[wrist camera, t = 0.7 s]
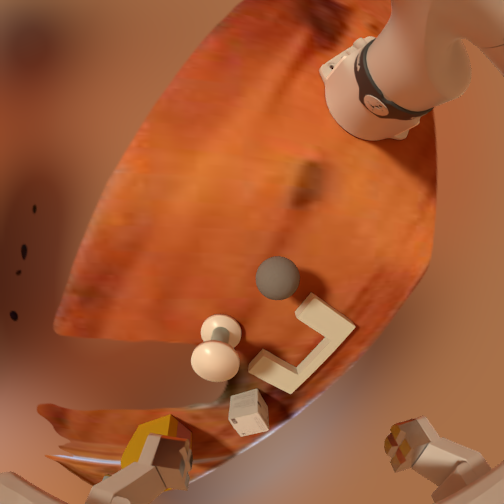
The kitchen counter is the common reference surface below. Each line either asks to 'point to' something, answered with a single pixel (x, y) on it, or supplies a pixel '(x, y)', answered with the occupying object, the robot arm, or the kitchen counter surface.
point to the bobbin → (217, 349)
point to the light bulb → (277, 278)
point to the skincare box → (248, 413)
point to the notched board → (335, 333)
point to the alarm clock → (158, 426)
